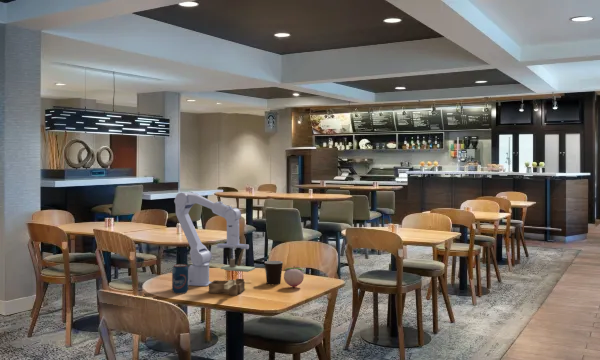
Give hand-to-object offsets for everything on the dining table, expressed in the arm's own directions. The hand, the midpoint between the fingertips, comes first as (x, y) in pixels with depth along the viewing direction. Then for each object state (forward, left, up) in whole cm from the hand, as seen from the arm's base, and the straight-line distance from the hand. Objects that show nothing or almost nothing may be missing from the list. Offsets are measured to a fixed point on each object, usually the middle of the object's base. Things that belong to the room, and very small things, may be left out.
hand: (233, 264), depth 264 cm
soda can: (-20, -14, -11) cm, 27 cm away
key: (+4, -22, -5) cm, 23 cm away
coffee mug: (+17, +12, -11) cm, 23 cm away
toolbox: (0, -10, -10) cm, 15 cm away
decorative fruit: (+28, +3, -11) cm, 30 cm away
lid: (+2, -1, -3) cm, 4 cm away
